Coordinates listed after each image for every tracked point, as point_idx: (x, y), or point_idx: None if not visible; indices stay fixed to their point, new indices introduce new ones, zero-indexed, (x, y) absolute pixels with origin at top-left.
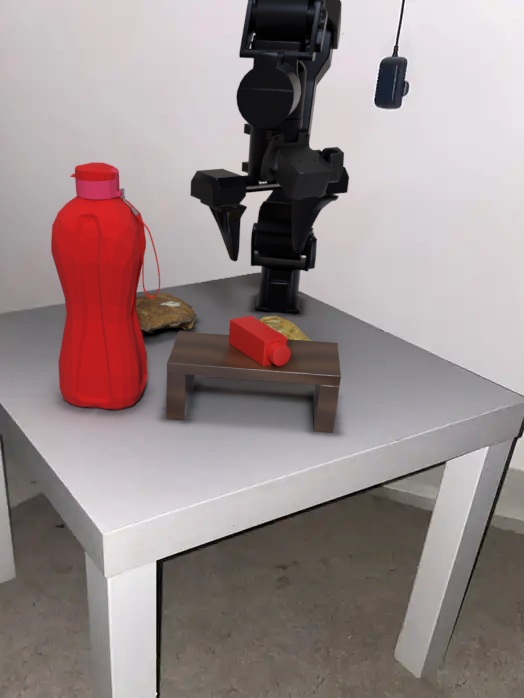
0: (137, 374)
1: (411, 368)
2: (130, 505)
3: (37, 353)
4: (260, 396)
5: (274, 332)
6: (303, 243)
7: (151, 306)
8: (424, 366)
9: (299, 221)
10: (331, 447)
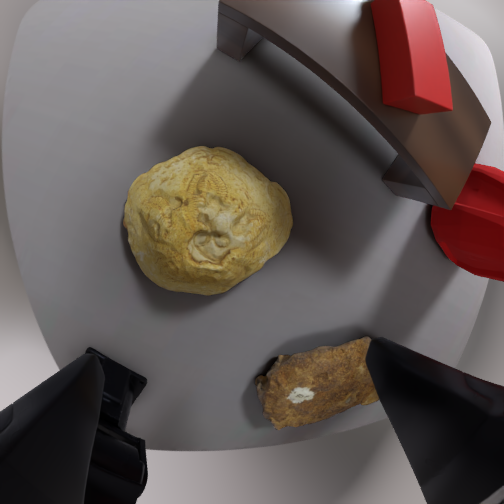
0: (480, 167)
1: (42, 99)
2: (479, 48)
3: (442, 330)
4: (319, 96)
5: (407, 9)
6: (67, 369)
7: (332, 391)
8: (26, 103)
9: (60, 454)
10: None
